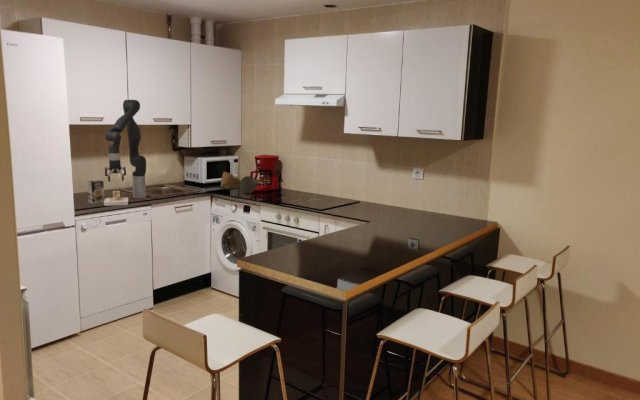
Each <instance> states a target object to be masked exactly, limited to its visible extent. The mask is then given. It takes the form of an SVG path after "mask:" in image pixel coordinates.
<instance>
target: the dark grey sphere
mask: <svg viewBox="0 0 640 400" xmlns="http://www.w3.org/2000/svg"><path fill="white" fill-rule="evenodd" d="M257 185H258V182H257V180H256V179H255V178H254V177H252V176H247V175H246V176H243V178H241V180H240V185H239V189H240V192H241V193H243V194H245V195H248V194H249V195H250V194H252V193H253V192H255V190H256V188H257Z"/></svg>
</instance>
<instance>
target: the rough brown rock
mask: <svg viewBox="0 0 640 400" xmlns="http://www.w3.org/2000/svg"><path fill="white" fill-rule="evenodd" d="M240 181H241V180H240V179H239V178H238V177H235V176H234V175H233V174H232V173H230V172H227V171H223V172H222V175H221V180H220V186H221V187H222V188H225V189H226V190H229V189H235V190H236V189H237V190H238V188H240Z"/></svg>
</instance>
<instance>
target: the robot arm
mask: <svg viewBox="0 0 640 400" xmlns="http://www.w3.org/2000/svg"><path fill="white" fill-rule="evenodd" d="M140 108H141V103H140V102H139V100H138V99H124V100H123V103H122V109H123V115H120V117H119V118H118V119H117V120H116V121H115V123H114V124H113V126H111V127H110V128H109V129H108V130H107V131H106V133H105V135H104V136H105V140H106V141H108V142H113V143H112V144H109V145H108V162H109V164H108V165H109V167H104V176H105V177H107V182H109V183H110V182H111V175H112V174H119V175H121V182H123V181H125V178H124V177H125V176H126V175H127V171H126V166H121V165H122V163H121V155H120V144H121V140H122V136H121V133H123V131H124V130H125V128H126V132H127V138H128V147H129V162H130V165H131V166H132V167H134V168H135V170H133V171H132V175H131V177H132V197H133V198H134V199H145V198H147V194H146V193H147V191H146V190H147V189H146V172H147V160H146V157H145V156H144V155H140V153H139V146H140V143H141V139H142V137H141V128H140V127H139V125H138V124H137V122H136V120H135V118H134V116H135V115H136V114H137V113H138V112H140ZM108 170H109V171H110V172H109V173H108ZM122 171H123V172H122Z"/></svg>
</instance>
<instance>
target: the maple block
mask: <svg viewBox="0 0 640 400" xmlns="http://www.w3.org/2000/svg"><path fill="white" fill-rule="evenodd" d="M120 193H121V191H120V190H113V191H112V198H113V200H120V198H121V194H120Z"/></svg>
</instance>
